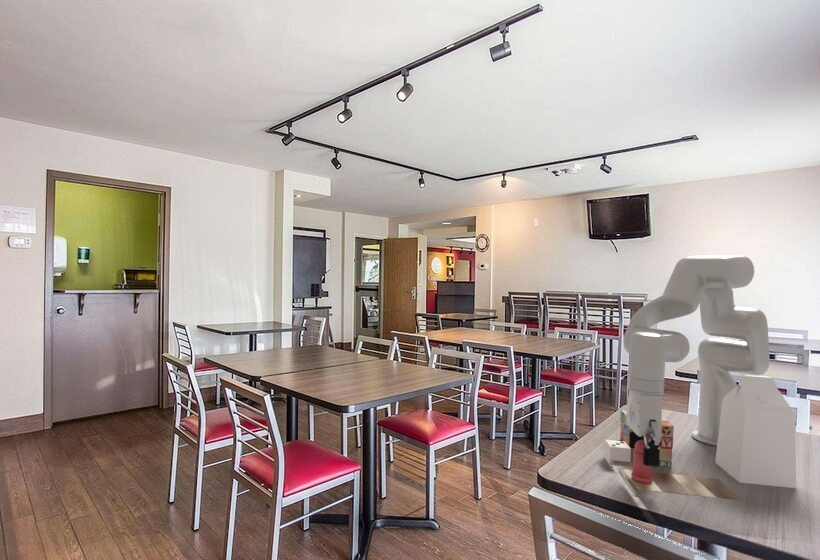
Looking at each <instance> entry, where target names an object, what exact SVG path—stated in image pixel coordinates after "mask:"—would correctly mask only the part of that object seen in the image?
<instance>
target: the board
mask: <svg viewBox="0 0 820 560" xmlns="http://www.w3.org/2000/svg"><path fill="white" fill-rule="evenodd" d="M618 470H619V471H618V473H619V475H620V476H621V478H622V480H623V481H624V482H625V484H626V485H627V487H628V488H629V489H630V490H631V492H632V493H633V495H634V497H635V498H636V497H637V498H639V497H640V496H639V495H638V494H637V492H636V491H635V489H634V487H633V486H635V487H636V490H640V491H650V492H651V491H652V492H660V493H669V494H679V495H687V496H688V495H690V496H698V497H708V498H718V499H725V500H726V499H727V500H736V501H744V499H743V498H742V497H741V496H740V495H738V494H737V493H736V492H734V491H733V490H732V489H731V488H730V487H729V486H728V485H727V484H725V483H724V481H722V480H721V479H720V478H715V477H705V476H693V475H686V474H685V475H684V474H675V473H671V474H670V473H665V472H663V473H662V472H654V471H652V477H653V479H652V483H651V484H641V483H638V482H636V481H634V480H632V478H631V476H632V471H633V469H626V468H625V469H622V470H623V472H624V473H625V474H626V476H627V477H628V478H629V479H630V481H631V482H632V484H633V486H632V485H631V483H630V482H629V481H628V479H627V477H626V476H625V475H624V474H623V472H622V471H621V469H618Z"/></svg>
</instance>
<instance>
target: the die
mask: <svg viewBox="0 0 820 560" xmlns="http://www.w3.org/2000/svg"><path fill="white" fill-rule="evenodd" d="M604 443H605V445H604V459H605V460H606V462H607V464H608V463H609V464H608V465H609V466H612V465H615V466H614V467H617V466H618V465H617V464H616V463H615V461H616V462H627V463H631V456H632V455H631V454H632V449H631V448H630V447H629V446H628V445H627V443H626V442H625V441H621V440H614V439H613V440H612V439H605V441H604Z"/></svg>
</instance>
